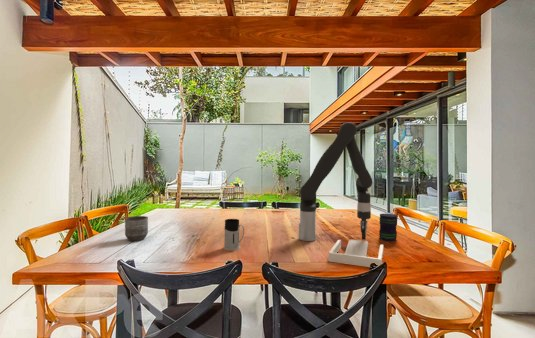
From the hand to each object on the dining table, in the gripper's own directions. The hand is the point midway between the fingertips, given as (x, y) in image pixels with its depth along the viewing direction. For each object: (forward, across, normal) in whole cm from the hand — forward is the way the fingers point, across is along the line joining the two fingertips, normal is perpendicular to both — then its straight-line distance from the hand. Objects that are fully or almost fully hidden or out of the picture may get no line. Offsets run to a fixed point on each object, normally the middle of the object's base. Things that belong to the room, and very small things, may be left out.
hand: (363, 239), depth 173 cm
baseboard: (+2, +17, -3) cm, 17 cm away
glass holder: (0, +45, -61) cm, 76 cm away
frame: (+1, +31, -1) cm, 31 cm away
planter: (0, +52, -122) cm, 133 cm away
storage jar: (+2, -11, +13) cm, 17 cm away
